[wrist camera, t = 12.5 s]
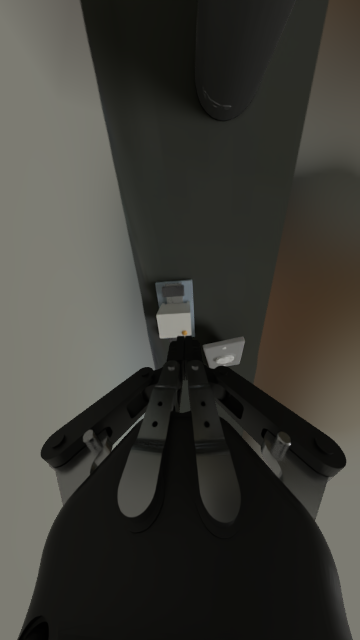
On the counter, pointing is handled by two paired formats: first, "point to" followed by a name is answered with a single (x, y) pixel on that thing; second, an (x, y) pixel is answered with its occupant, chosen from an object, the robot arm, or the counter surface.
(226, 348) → the light switch
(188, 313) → the block
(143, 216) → the counter surface
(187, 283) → the plate
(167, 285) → the din rail
